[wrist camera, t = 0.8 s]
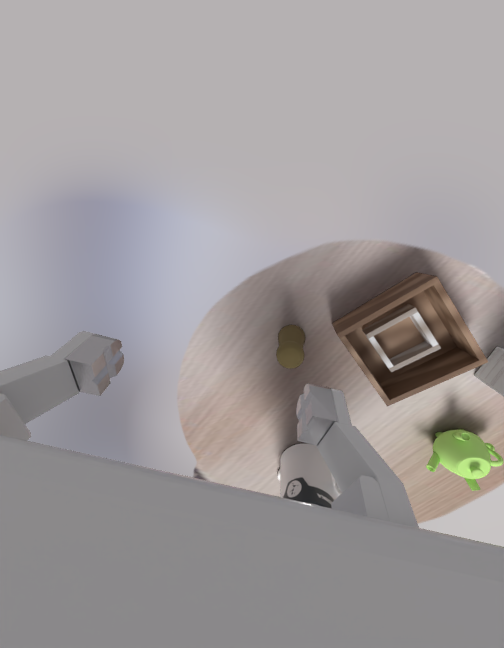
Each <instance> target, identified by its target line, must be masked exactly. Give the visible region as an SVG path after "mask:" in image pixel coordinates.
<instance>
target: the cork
mask: <svg viewBox="0 0 504 648" xmlns="http://www.w3.org/2000/svg"><path fill="white" fill-rule="evenodd" d="M278 340H279V347H278V349H277V353H276V356H277V360H278V362H279V363H280V364H281V365H282V366H283V367H285V368H290V369H291V368H296V367H298V366H299V365H300V364H301V363H302V362H303V360H304V351H303V349H302V348H303V345H304V342H305V333H304V332H303V330H302V329H301V328H300V327H298V326H296V325H288V326H285V327H283V328H282V329H281V330H280V332H279V335H278Z"/></svg>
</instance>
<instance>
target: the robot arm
mask: <svg viewBox="0 0 504 648" xmlns="http://www.w3.org/2000/svg"><path fill="white" fill-rule="evenodd" d="M121 347H122V344H121V341H120V340H117V339H113V338H110V337H106V336H102V335H97V334H93V333H89V332H85V331H83V332H80V333H78V334H77V335H76V336H75V337H73V338H72V339H71V340H70V341H69V342H67V343H66V344H65V345H64V346H62V347H61V348H60V349H59V350H57V351H56V352H55V353H54V354H53V355H51V356H44V357H41V358H38V359H35V360H32V361H29V362H26V363H23V364H20V365H17V366H15V367H11V368H8V369H5V370H2V371H0V648H504V547H502V546H497V545H492V544H488V543H483V542H479V541H475V540H470V539H466V538H461V537H457V536H452V535H448V534H443V533H439V532H434V531H430V530H425V529H421V528H419V526H418V524H417V521H416V518H415V515H414V513H413V510H412V507H411V504H410V502H409V499H408V496H407V493H406V490H405V488H404V485H403V483H402V482H401V481H400V479H399V478H398V477H397V476H396V475H395V473H394V472H393V471H392V470H391V469H390V467H389V466H388V465H387V464H386V463H385V461H384V460H383V459H382V458H381V457H380V455H379V454H378V453H377V452H376V451H375V449H374V448H373V447H372V446H371V445H370V443H369V442H368V441H367V440H366V439H365V437H364V436H363V435H362V434H361V433H360V431H359V430H358V429H357V428H356V427H355V426H352V424H351V420H350V417H349V413H348V409H347V405H346V401H345V397H344V393H343V392H342V391H341V390H336V389H332V388H327V387H323V386H318V385H314V384H309V383H307V384H306V385H305V387H304V394H301V395H300V397H299V399H298V402H297V408H296V416H297V418H298V419H299V423H298V424H297V441H300V442H304V443H308V444H296V445H293V446H291V447H289V448H288V449H286V450H285V451H284V452H283V454H282V456H281V459H280V469H279V471H278V474H277V476H278V479H279V480H280V497H277V496H273V495H269V494H264V493H260V492H255V491H251V490H246V489H242V488H237V487H233V486H228V485H224V484H219V483H215V482H210V481H206V480H201V479H197V478H192V477H188V476H183V475H179V474H174V473H170V472H165V471H161V470H156V469H151V468H147V467H142V466H138V465H134V464H129V463H125V462H120V461H115V460H111V459H107V458H102V457H97V456H93V455H89V454H84V453H80V452H75V451H71V450H66V449H61V448H57V447H52V446H48V445H43V444H39V443H35V442H30V441H27V440H28V439H29V438H30V437H31V433H30V431H29V430H28V428H27V427H26V425H25V424H26V423H28V422H29V421H31V420H33V419H35V418H36V417H38V416H40V415H42V414H43V413H45V412H47V411H49V410H50V409H52V408H54V407H56V406H57V405H59V404H61V403H62V402H64V401H66V400H68V399H70V398H71V397H73V396H75V395H77V394H78V393H79V392H83V393H88V394H93V395H98V396H101V394H102V393H103V392H104V391H105V389H106V388H107V387H108V385H109V384H110V378H112V377H114V376H116V375H117V374H118V373H119V371H120V370H121V368H122V366H123V363H124V355H123V353H122V352H121V351H120V348H121Z"/></svg>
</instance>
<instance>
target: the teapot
mask: <svg viewBox="0 0 504 648" xmlns="http://www.w3.org/2000/svg"><path fill="white" fill-rule="evenodd" d="M435 436H436V437H437V438H436V440H435V441H434V444H433V455H432V457H431V458H430V460H429V462H428V464H427V466H426V467H427V469H428V470H430V471H432V472H435V470H436V468H437V466H438V464H439V462H440V463H441V464H442V465H443V466H444V467H446V468H447V469H448V470H450V471H452V472H453V473H455V474H457V475H459V476H462V477H464V478H465V480H466V481H467V483H468V485H469V487H470V488H471V490H472V491H474V490H481V489H480V487H479V485H478V484H477V482H476V480H475V479H479V478H482V477H484V476H486V475H487V474H488V473H489V471H490V468H491V466H501V465H502V464H503V459H502V457H501V456H500V455H499V454H498V453H496V452H495V451H494V450H495V448H494V446H493V445H492V444H489V443H484V442H483V441H482V440H481V438H480V437H478V436H477V435H475V434H473V433H471V432H468V431H465V430H464V429H458V430H449V431H446V432H443V433H442V432H437V433H436V434H435ZM489 453H490V454H492V455H493V456H495V457H496V458H497V459H498V461H491V459H490V454H489Z"/></svg>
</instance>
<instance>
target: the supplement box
mask: <svg viewBox="0 0 504 648" xmlns="http://www.w3.org/2000/svg"><path fill="white" fill-rule="evenodd" d="M487 360H488V362H487V363H485V364H483V365H482V366H481V367H480V368H479V370H478V371H477V372H476V373H475V375H474V376H475V377H477V378H478V379H480V380H481V381H482V382H484V383H485V384H487V385H488V386H489V387H491V388H492V389H494V390H495V391H496V392H498V393H499V394H501V395H502V396H503V397H504V349H503V348H501V347H496V348H495V350H494V351H493V352H492V353H491V355H490V356H489V357H488V358H487Z"/></svg>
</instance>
